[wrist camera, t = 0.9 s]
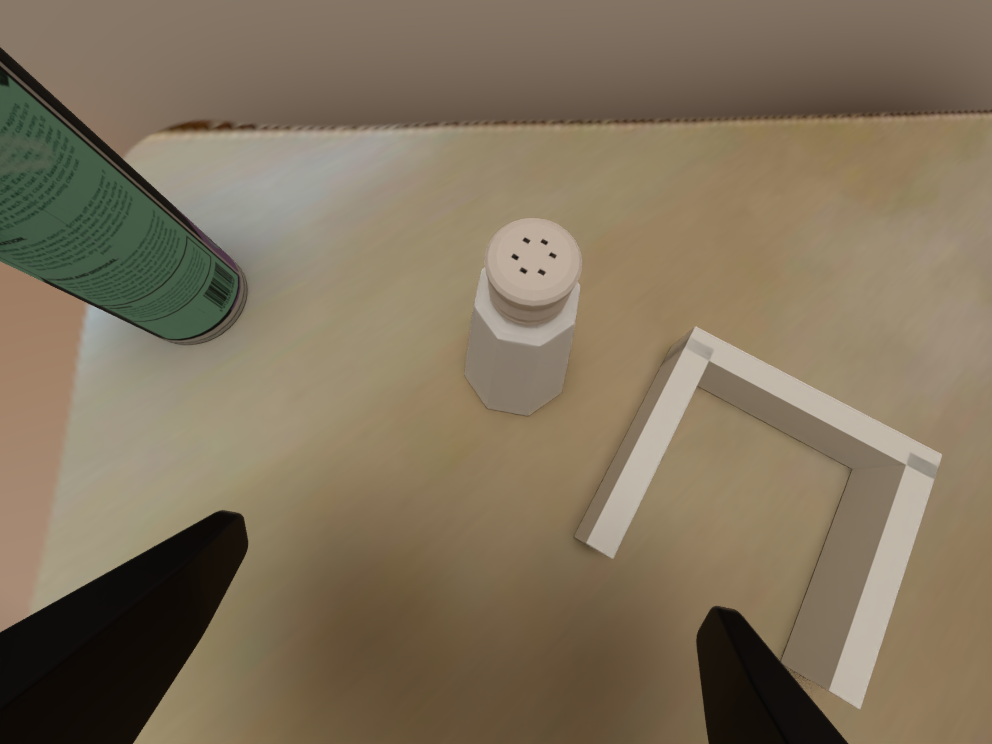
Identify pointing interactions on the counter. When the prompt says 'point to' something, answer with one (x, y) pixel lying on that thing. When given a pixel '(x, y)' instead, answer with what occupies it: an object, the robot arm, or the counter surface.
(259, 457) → the counter surface
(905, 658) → the counter surface
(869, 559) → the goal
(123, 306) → the spray can
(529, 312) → the pepper shaker
